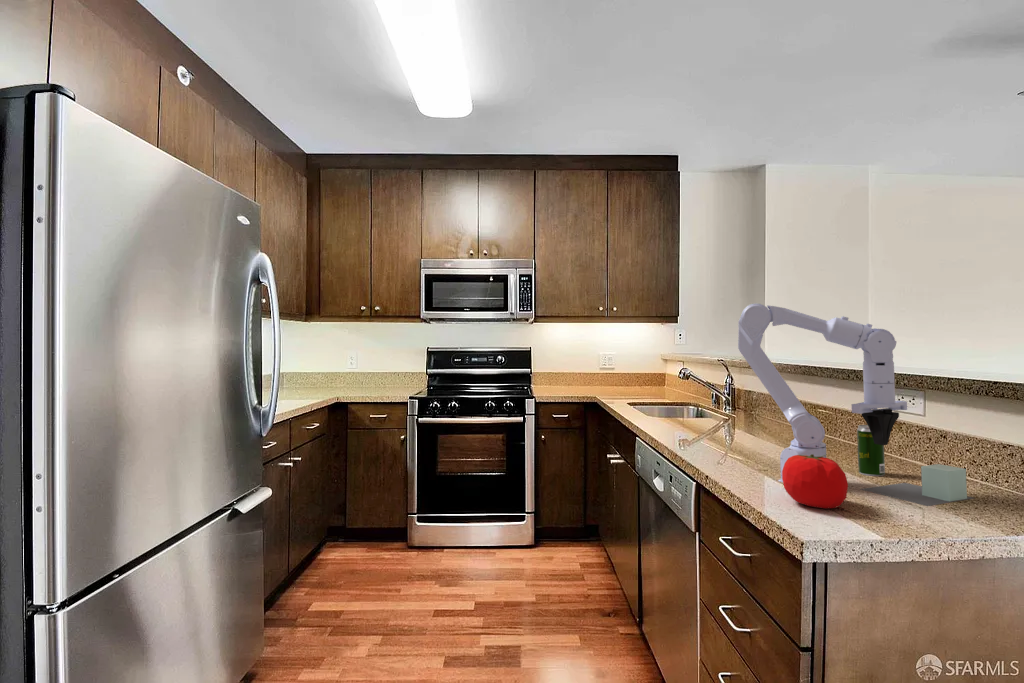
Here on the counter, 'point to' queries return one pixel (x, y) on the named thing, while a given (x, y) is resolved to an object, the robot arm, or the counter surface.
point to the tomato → (815, 481)
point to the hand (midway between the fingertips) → (881, 444)
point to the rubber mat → (908, 494)
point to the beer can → (869, 453)
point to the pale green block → (944, 482)
